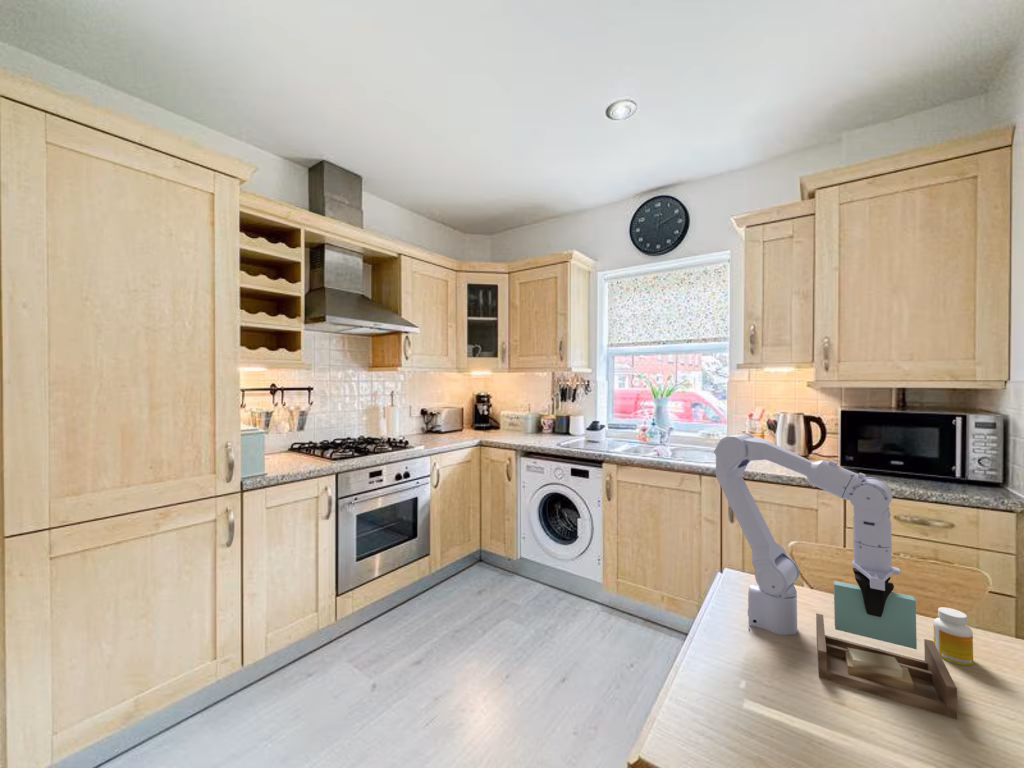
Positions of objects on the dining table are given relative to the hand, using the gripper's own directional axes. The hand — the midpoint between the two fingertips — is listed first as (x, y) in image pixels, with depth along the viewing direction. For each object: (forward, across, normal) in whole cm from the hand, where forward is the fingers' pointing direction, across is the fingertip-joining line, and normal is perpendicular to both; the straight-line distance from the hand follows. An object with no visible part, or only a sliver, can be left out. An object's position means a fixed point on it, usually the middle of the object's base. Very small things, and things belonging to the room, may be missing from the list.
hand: (872, 612), depth 83 cm
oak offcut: (+9, -5, 0) cm, 11 cm away
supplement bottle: (+11, +10, -13) cm, 19 cm away
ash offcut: (+8, -5, 0) cm, 9 cm away
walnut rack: (+10, -4, 0) cm, 11 cm away
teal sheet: (+5, 0, 0) cm, 5 cm away
